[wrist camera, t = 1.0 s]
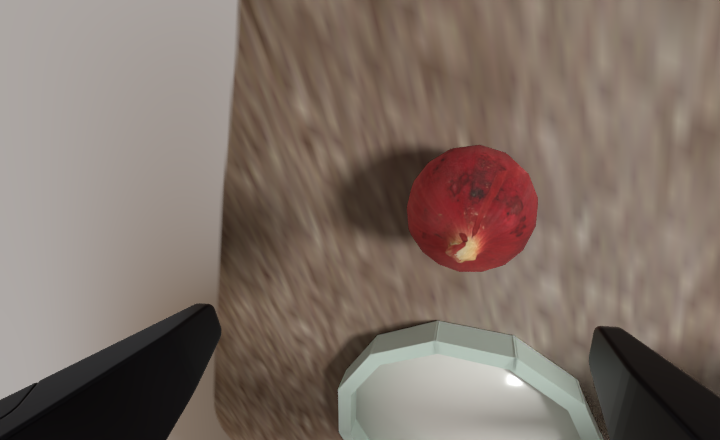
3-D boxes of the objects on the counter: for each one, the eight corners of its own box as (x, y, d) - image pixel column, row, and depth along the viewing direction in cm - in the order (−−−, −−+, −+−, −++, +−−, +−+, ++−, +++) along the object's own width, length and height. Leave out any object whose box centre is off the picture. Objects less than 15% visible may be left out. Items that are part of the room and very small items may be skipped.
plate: (631, 500, 25) (642, 533, 24) (405, 502, 33) (401, 526, 31) (540, 295, 21) (546, 316, 20) (307, 351, 29) (297, 369, 27)
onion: (437, 120, 19) (413, 153, 12) (546, 150, 18) (588, 205, 11) (407, 214, 22) (374, 285, 15) (501, 245, 21) (513, 337, 14)
